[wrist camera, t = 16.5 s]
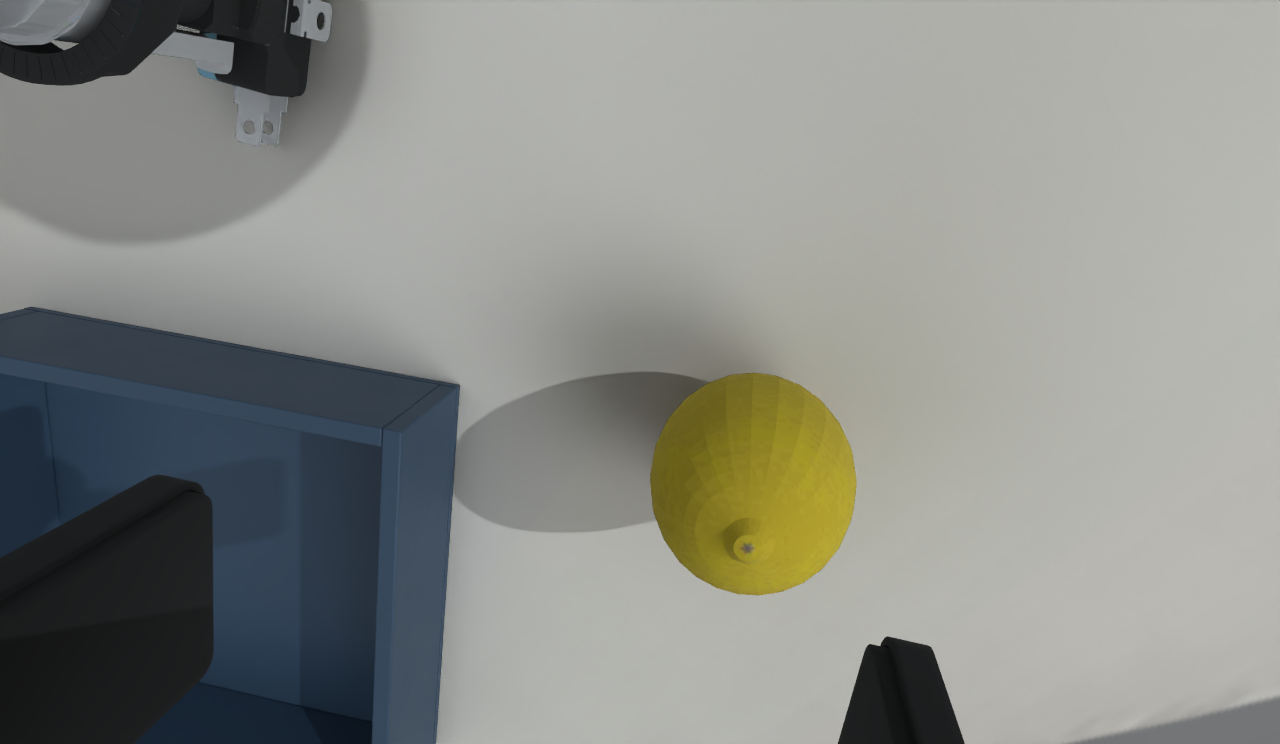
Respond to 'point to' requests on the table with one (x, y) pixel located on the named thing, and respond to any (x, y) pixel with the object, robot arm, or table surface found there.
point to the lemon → (753, 484)
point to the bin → (255, 513)
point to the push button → (171, 45)
